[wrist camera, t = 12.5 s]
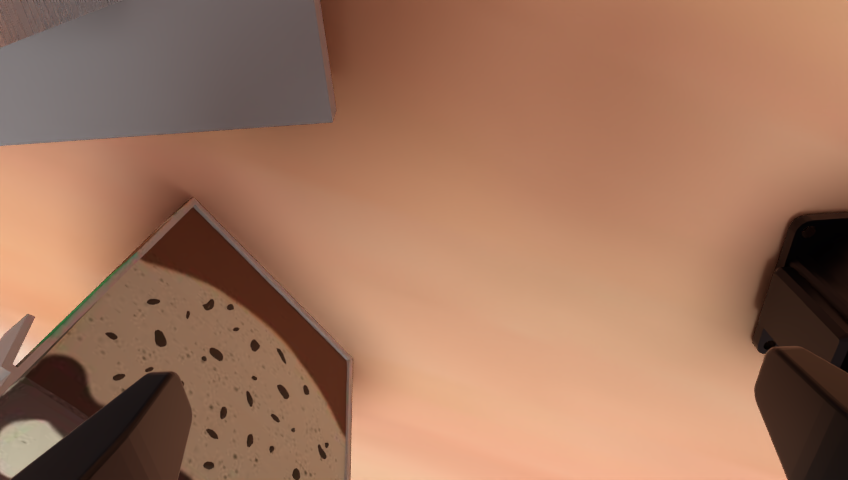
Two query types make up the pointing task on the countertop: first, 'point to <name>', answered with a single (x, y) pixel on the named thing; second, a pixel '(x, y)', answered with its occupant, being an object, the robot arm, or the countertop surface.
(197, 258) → the food container
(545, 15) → the countertop surface
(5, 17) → the housing
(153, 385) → the robot arm
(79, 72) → the stand
